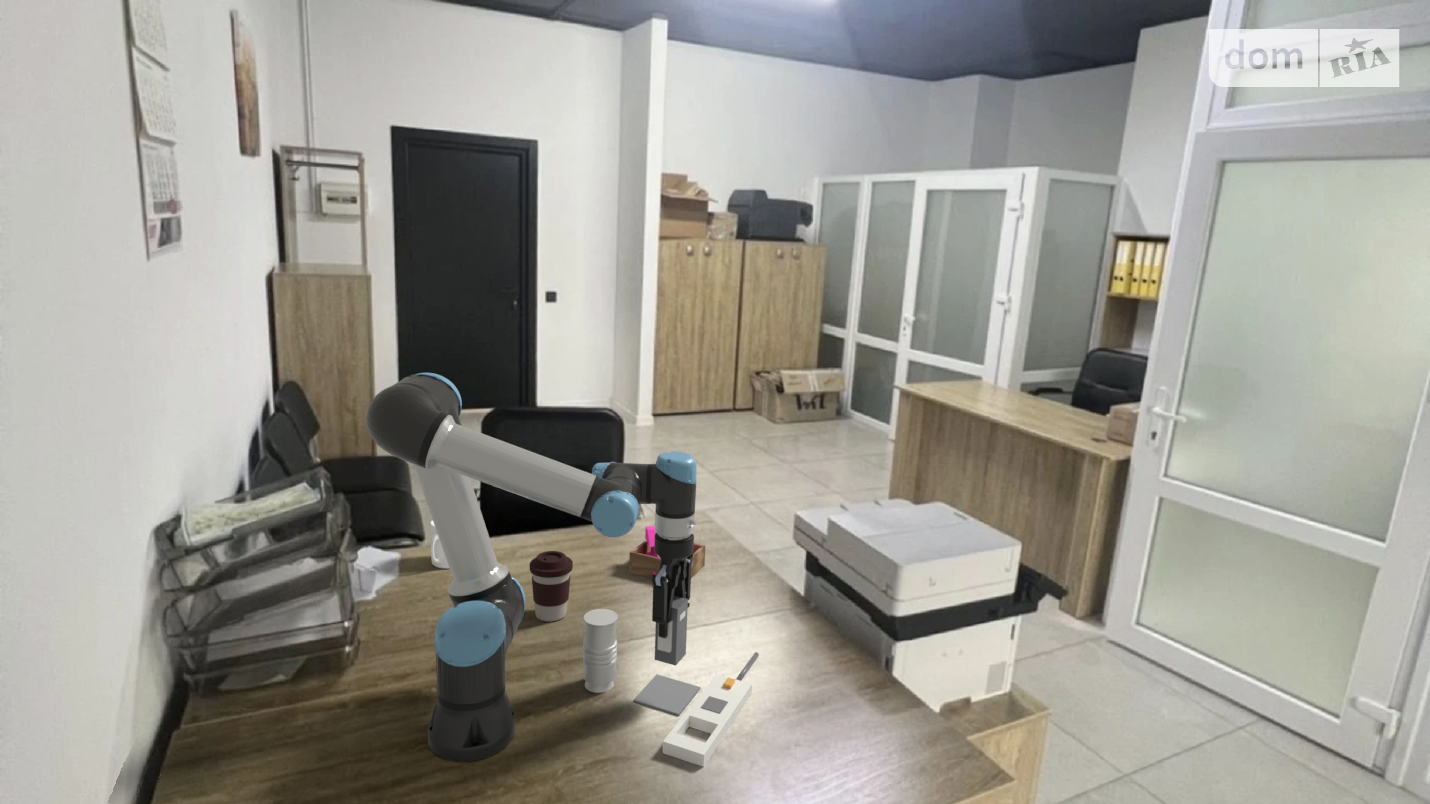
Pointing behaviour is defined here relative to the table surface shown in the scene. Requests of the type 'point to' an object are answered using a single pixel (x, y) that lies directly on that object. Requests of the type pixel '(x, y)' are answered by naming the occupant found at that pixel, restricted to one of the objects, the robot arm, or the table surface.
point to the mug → (437, 549)
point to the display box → (648, 564)
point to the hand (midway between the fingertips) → (670, 643)
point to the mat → (667, 694)
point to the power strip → (709, 717)
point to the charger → (675, 633)
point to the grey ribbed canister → (600, 650)
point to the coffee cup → (551, 584)
